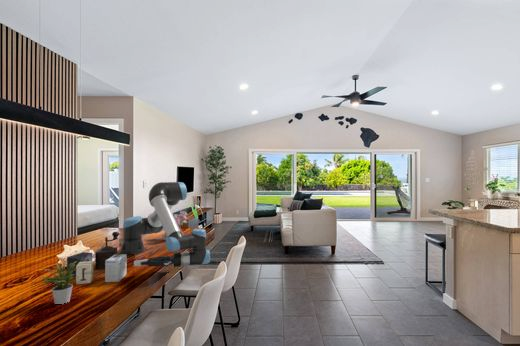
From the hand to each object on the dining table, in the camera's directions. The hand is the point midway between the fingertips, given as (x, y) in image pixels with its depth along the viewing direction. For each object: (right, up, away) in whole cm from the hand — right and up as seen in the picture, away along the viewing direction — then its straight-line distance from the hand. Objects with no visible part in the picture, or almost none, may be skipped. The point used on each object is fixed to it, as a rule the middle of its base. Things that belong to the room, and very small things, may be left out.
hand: (134, 263), depth 148 cm
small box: (-30, -7, +2) cm, 31 cm away
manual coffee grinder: (-24, -7, +19) cm, 32 cm away
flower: (-6, -7, +83) cm, 83 cm away
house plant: (-17, -7, -29) cm, 34 cm away
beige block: (-21, -7, -7) cm, 23 cm away
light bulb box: (-8, -7, -3) cm, 11 cm away
